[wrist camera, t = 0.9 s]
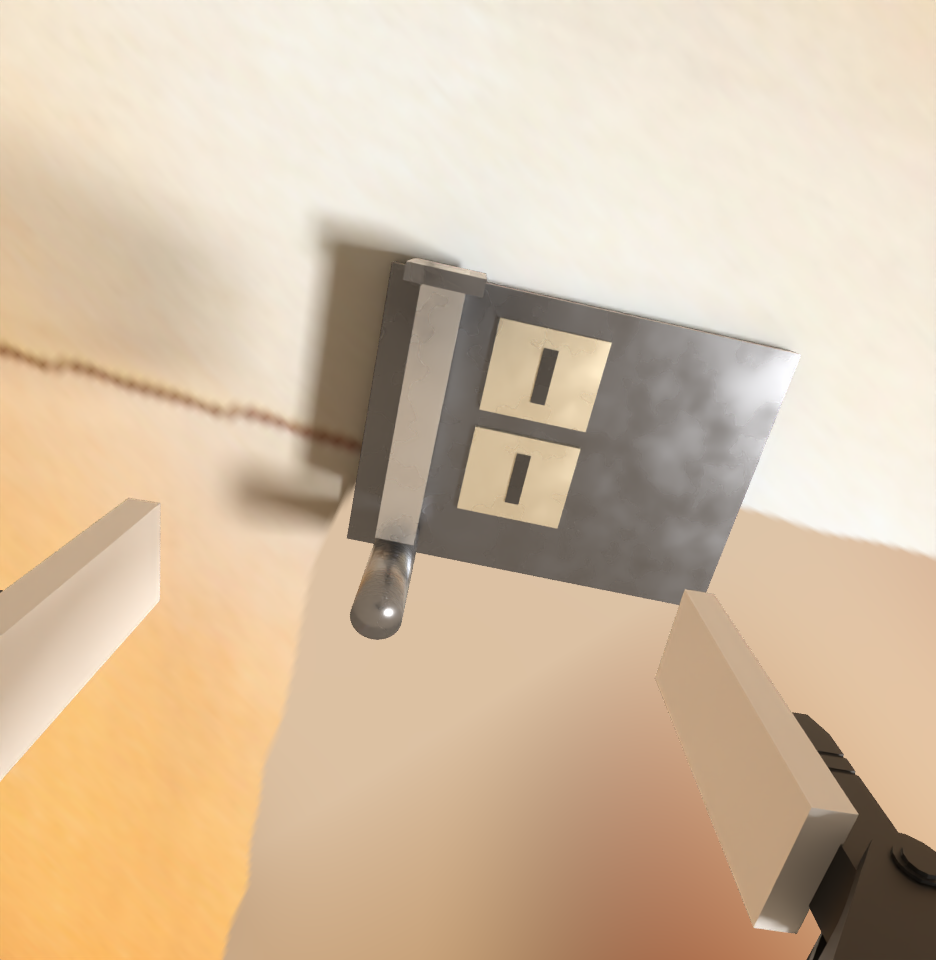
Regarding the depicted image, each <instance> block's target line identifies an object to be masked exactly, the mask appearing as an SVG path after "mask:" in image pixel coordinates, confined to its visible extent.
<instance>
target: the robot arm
mask: <svg viewBox="0 0 936 960" xmlns="http://www.w3.org/2000/svg"><path fill="white" fill-rule="evenodd" d="M159 601H160V503H157V502H151V501H145V500H139V499H133V498H128V499H126V500H125V501H124V502H122V503H121V504H120V505H118V506H117V507H116V508H114V509H113V510H111V511H110V512H109V513H107V514H106V515H105V516H103V517H102V518H101V519H99V520H98V521H97V522H95V523H94V524H93V525H91V526H90V527H89V528H87V529H86V530H85V531H83V532H82V533H80V534H79V535H78V536H76V537H75V538H74V539H72V540H71V541H70V542H68V543H67V544H66V545H64V546H63V547H62V548H60V549H59V550H58V551H56V552H55V553H54V554H52V555H51V556H49V557H48V558H47V559H45V560H44V561H43V562H41V563H40V564H39V565H37V566H36V567H35V568H33V569H32V570H31V571H29V572H28V573H27V574H25V575H24V576H23V577H21V578H20V579H18V580H17V581H16V582H14V583H13V584H12V585H10V586H9V587H8V588H6V589H5V590H4V591H3V590H0V781H1V780H2V779H3V778H4V776H5V775H6V774H7V773H8V772H9V771H10V770H11V768H12V767H13V766H14V765H15V764H16V763H17V762H18V761H19V759H20V758H21V757H22V756H23V755H24V754H25V753H26V751H27V750H28V749H29V748H30V747H31V746H32V745H33V743H34V742H35V741H36V740H37V739H38V738H39V737H40V736H41V734H42V733H43V732H44V731H45V730H46V729H47V728H48V726H49V725H50V724H51V723H52V722H53V721H54V720H55V719H56V717H57V716H58V715H59V714H60V713H61V712H62V711H63V709H64V708H65V707H66V706H67V705H68V704H69V703H70V702H71V700H72V699H73V698H74V697H75V696H76V695H77V694H78V692H79V691H80V690H81V689H82V688H83V687H84V686H85V685H86V683H87V682H88V681H89V680H90V679H91V678H92V677H93V675H94V674H95V673H96V672H97V671H98V670H99V669H100V668H101V666H102V665H103V664H104V663H105V662H106V661H107V660H108V658H109V657H110V656H111V655H112V654H113V653H114V652H115V651H116V649H117V648H118V647H119V646H120V645H121V644H122V643H123V641H124V640H125V639H126V638H127V637H128V636H129V635H130V634H131V632H132V631H133V630H134V629H135V628H136V627H137V626H138V624H139V623H140V622H141V621H142V620H143V619H144V618H145V617H146V615H147V614H148V613H149V612H150V611H151V610H152V609H153V607H154V606H155V605H156V604H157V603H158V602H159ZM655 679H656V682H657V685H658V687H659V690H660V692H661V695H662V698H663V700H664V703H665V705H666V708H667V710H668V713H669V715H670V718H671V720H672V723H673V725H674V728H675V730H676V733H677V735H678V738H679V741H680V743H681V745H682V748H683V751H684V753H685V756H686V758H687V761H688V763H689V766H690V768H691V771H692V773H693V776H694V778H695V781H696V783H697V786H698V789H699V791H700V794H701V796H702V799H703V801H704V804H705V806H706V809H707V811H708V814H709V816H710V819H711V821H712V824H713V826H714V829H715V831H716V834H717V836H718V839H719V842H720V844H721V846H722V849H723V852H724V854H725V857H726V859H727V862H728V864H729V867H730V869H731V872H732V874H733V877H734V879H735V882H736V885H737V887H738V890H739V892H740V895H741V897H742V900H743V902H744V905H745V907H746V910H747V912H748V915H749V917H750V920H751V922H752V925H753V927H754V928H760V929H768V930H774V931H782V932H788V933H795V934H797V932H798V930H799V929H800V927H801V925H802V923H803V921H804V919H805V917H806V915H807V913H808V911H809V909H810V910H811V912H812V914H813V916H814V918H815V920H816V922H817V924H818V926H819V928H820V930H821V934H820V936H819V938H818V940H817V942H816V944H815V945H814V947H813V949H812V951H811V953H810V954H809V956H808V958H807V960H936V852H935V851H934V850H932V849H931V848H930V847H928V846H927V845H925V844H924V843H922V842H920V841H918V840H916V839H914V838H912V837H910V836H908V835H906V834H902V833H898V832H897V830H896V829H895V827H894V826H893V824H892V823H891V821H890V820H889V819H888V817H887V816H886V814H885V813H884V812H883V810H882V809H881V807H880V806H879V804H878V803H877V801H876V800H875V799H874V797H873V796H872V794H871V793H870V792H869V790H868V789H867V787H866V786H865V784H864V783H863V782H862V780H861V779H860V777H859V776H857V775H855V771H854V769H853V767H852V766H851V764H850V763H849V762H848V760H847V759H845V758H843V755H844V754H843V753H842V752H841V750H840V749H839V747H838V746H837V745H836V743H835V742H834V740H833V739H832V737H831V736H830V735H829V734H828V733H827V732H826V731H825V730H824V729H823V728H822V727H821V726H819V725H818V724H817V723H816V722H815V721H814V720H812V719H811V718H810V717H809V716H808V715H806V714H799V713H793V712H791V711H790V709H789V707H788V706H787V704H786V703H785V701H784V700H783V698H782V697H781V695H780V694H779V692H778V691H777V689H776V688H775V686H774V685H773V683H772V681H771V680H770V678H769V677H768V675H767V674H766V672H765V671H764V669H763V668H762V666H761V665H760V663H759V662H758V660H757V659H756V657H755V656H754V654H753V653H752V651H751V650H750V648H749V646H748V645H747V643H746V642H745V640H744V639H743V638H742V636H741V634H740V633H739V631H738V630H737V628H736V627H735V625H734V623H733V622H732V621H731V619H730V618H729V616H728V614H727V613H726V611H725V610H724V608H723V607H722V605H721V604H720V602H719V601H718V599H717V598H716V596H715V595H714V594H711V593H705V592H699V591H693V590H687V589H685V590H684V593H683V596H682V599H681V602H680V605H679V608H678V611H677V614H676V617H675V620H674V623H673V626H672V629H671V631H670V634H669V638H668V641H667V643H666V647H665V649H664V653H663V656H662V658H661V661H660V664H659V667H658V670H657V673H656V676H655Z"/></svg>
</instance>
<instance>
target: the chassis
mask: <svg viewBox="0 0 936 960" xmlns="http://www.w3.org/2000/svg"><path fill="white" fill-rule="evenodd" d="M405 265H406V264H404V263H399V262H395V261H394V262H392V266H391V272H390V278H389V284H388V290H387V296H386V302H385V309H384V315H383V321H382V327H381V333H380V339H379V345H378V351H377V357H376V364H375V370H374V376H373V382H372V388H371V394H370V400H369V406H368V413H367V419H366V425H365V431H364V437H363V443H362V449H361V455H360V461H359V468H358V474H357V480H356V486H355V492H354V498H353V504H352V511H351V517H350V523H349V529H348V535H347V538H348V539H353V540H358V541H363V542H368V543H373V544H374V546H373V549H372V552H371V554H370V557H369V560H368V563H367V566H366V569H365V572H364V575H363V577H362V580H361V583H360V586H359V589H358V592H357V595H356V598H355V600H354V603H353V606H352V609H351V612H350V619H351V623H352V625H353V627H354V628H355V630H356V631H357V632H358V633H359V634H361V635H363V636H364V637H367V638H370V639H376V640H379V639H385V638H388V637H390V636H392V635H394V634H395V633H396V632H397V631H398V629H399V628H400V626H401V622H402V617H403V612H404V608H405V603H406V597H407V593H408V588H409V583H410V578H411V574H412V569H413V564H414V559H415V554H416V552H418V553H423V554H428V555H433V556H438V557H443V558H447V559H453V560H457V561H462V562H468V563H472V564H478V565H482V566H487V567H492V568H497V569H502V570H508V571H512V572H518V573H522V574H527V575H533V576H537V577H543V578H548V579H552V580H557V581H562V582H567V583H572V584H577V585H582V586H588V587H592V588H597V589H602V590H607V591H612V592H617V593H622V594H627V595H632V596H637V597H642V598H647V599H652V600H657V601H662V602H667V603H672V604H677V605H680V602H681V599H682V596H683V593H684V590H685V589H687V590H693V591H699V592H705V593H706V591H707V589H708V586H709V584H710V581H711V579H712V576H713V573H714V571H715V569H716V566H717V564H718V561H719V559H720V556H721V554H722V551H723V549H724V546H725V544H726V541H727V539H728V536H729V534H730V531H731V529H732V526H733V524H734V521H735V519H736V516H737V514H738V511H739V509H740V506H741V504H742V501H743V499H744V496H745V494H746V491H747V489H748V486H749V484H750V481H751V479H752V476H753V474H754V471H755V469H756V466H757V464H758V461H759V459H760V456H761V454H762V451H763V449H764V446H765V444H766V441H767V439H768V436H769V434H770V431H771V429H772V426H773V424H774V421H775V419H776V416H777V414H778V411H779V409H780V406H781V404H782V401H783V399H784V396H785V394H786V391H787V389H788V386H789V384H790V381H791V379H792V376H793V374H794V371H795V369H796V366H797V364H798V361H799V359H800V356H801V354H798V353H795V352H793V351H788V350H784V349H780V348H775V347H771V346H766V345H762V344H757V343H753V342H749V341H744V340H740V339H735V338H731V337H726V336H722V335H718V334H713V333H709V332H704V331H700V330H696V329H691V328H687V327H682V326H678V325H673V324H669V323H665V322H660V321H656V320H651V319H647V318H643V317H638V316H634V315H629V314H625V313H620V312H616V311H612V310H607V309H603V308H598V307H594V306H589V305H585V304H581V303H576V302H572V301H567V300H563V299H559V298H554V297H550V296H545V295H541V294H536V293H532V292H528V291H523V290H519V289H514V288H510V287H505V286H501V285H497V284H492V283H488V282H486V285H485V290H484V295H483V298H481V297H477V296H472V295H468V294H466V295H465V300H464V305H463V310H462V314H461V319H460V324H459V329H458V334H457V339H456V344H455V348H454V353H453V358H452V363H451V368H450V373H449V378H448V382H447V387H446V392H445V397H444V402H443V407H442V412H441V416H440V421H439V426H438V431H437V436H436V441H435V445H434V450H433V455H432V460H431V465H430V470H429V475H428V479H427V484H426V489H425V494H424V499H423V504H422V509H421V513H420V518H419V522H418V527H417V531H416V536H415V540H414V545H409V544H404V543H399V542H395V541H390V540H385V539H380V538H375V534H376V529H377V523H378V518H379V512H380V507H381V501H382V496H383V490H384V485H385V479H386V474H387V468H388V463H389V457H390V452H391V446H392V440H393V435H394V429H395V424H396V418H397V413H398V407H399V402H400V396H401V391H402V385H403V380H404V374H405V369H406V363H407V358H408V352H409V346H410V341H411V335H412V330H413V324H414V319H415V313H416V308H417V302H418V297H419V291H420V286H421V284H419V283H415V282H410V281H406V280H403V277H404V271H405Z"/></svg>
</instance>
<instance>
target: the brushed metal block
mask: <svg viewBox="0 0 936 960" xmlns="http://www.w3.org/2000/svg"><path fill="white" fill-rule="evenodd" d="M403 280H406V281H410V282H415V283H419V284H421V286H420V291H419V297H418V302H417V308H416V313H415V319H414V324H413V330H412V335H411V341H410V346H409V352H408V358H407V363H406V369H405V374H404V380H403V385H402V391H401V396H400V402H399V407H398V413H397V418H396V424H395V429H394V435H393V440H392V446H391V452H390V457H389V463H388V468H387V474H386V479H385V485H384V490H383V496H382V501H381V507H380V512H379V518H378V523H377V529H376V534H375V538H380V539H385V540H390V541H395V542H399V543H404V544H409V545H414V540H415V536H416V531H417V527H418V522H419V518H420V513H421V509H422V504H423V499H424V494H425V489H426V484H427V479H428V475H429V470H430V465H431V460H432V455H433V450H434V445H435V441H436V436H437V431H438V426H439V421H440V416H441V412H442V407H443V402H444V397H445V392H446V387H447V382H448V378H449V373H450V368H451V363H452V358H453V353H454V348H455V344H456V339H457V334H458V329H459V324H460V319H461V314H462V310H463V305H464V300H465V295H466V294H468V295H472V296H477V297H481V298H483V295H484V290H485V285H486V281H487V277H486V273H482V272H477V271H473V270H468V269H464V268H460V267H455V266H451V265H446V264H442V263H438V262H433V261H429V260H424V259H420V258H414V259H411V260H408V261H406V265H405V271H404V277H403Z"/></svg>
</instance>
